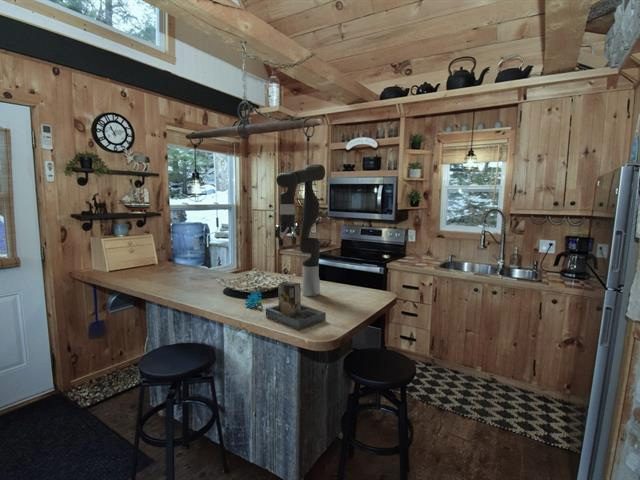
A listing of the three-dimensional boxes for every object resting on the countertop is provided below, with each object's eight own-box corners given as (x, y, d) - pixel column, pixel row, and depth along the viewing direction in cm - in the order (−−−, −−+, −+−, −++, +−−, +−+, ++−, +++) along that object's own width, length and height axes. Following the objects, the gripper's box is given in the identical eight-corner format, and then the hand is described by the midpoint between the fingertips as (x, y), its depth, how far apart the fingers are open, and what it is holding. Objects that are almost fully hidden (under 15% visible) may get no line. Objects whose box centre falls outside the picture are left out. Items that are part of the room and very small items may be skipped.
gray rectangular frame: (291, 308, 174) (291, 300, 173) (325, 321, 157) (325, 312, 156) (265, 316, 162) (265, 307, 162) (299, 330, 146) (299, 320, 145)
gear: (240, 302, 178) (253, 287, 181) (247, 308, 181) (259, 293, 185) (252, 310, 170) (265, 294, 173) (258, 316, 174) (271, 301, 177)
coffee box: (301, 315, 164) (301, 283, 162) (295, 320, 158) (295, 286, 156) (284, 313, 167) (284, 281, 165) (277, 317, 161) (277, 284, 159)
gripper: (293, 212, 179) (293, 243, 181) (271, 213, 169) (271, 246, 171) (302, 213, 174) (302, 244, 176) (281, 214, 163) (281, 247, 165)
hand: (287, 245), depth 173 cm, fingers open, 8 cm apart
